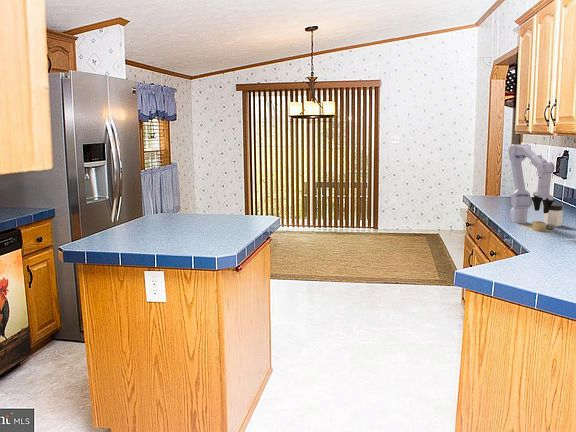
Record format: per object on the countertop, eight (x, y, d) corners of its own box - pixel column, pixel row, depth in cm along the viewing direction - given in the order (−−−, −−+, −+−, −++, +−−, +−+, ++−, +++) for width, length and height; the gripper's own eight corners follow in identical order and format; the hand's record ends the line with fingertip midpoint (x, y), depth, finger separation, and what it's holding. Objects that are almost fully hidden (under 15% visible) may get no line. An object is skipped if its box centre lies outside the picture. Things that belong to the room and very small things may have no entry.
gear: (542, 228, 279) (543, 222, 279) (551, 228, 280) (551, 222, 279) (548, 230, 274) (549, 224, 274) (557, 230, 275) (557, 224, 275)
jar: (542, 227, 289) (544, 205, 287) (543, 224, 296) (545, 203, 294) (561, 228, 285) (563, 206, 283) (561, 226, 292) (564, 204, 290)
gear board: (517, 227, 287) (518, 220, 287) (539, 226, 289) (540, 219, 289) (536, 233, 272) (536, 225, 271) (559, 232, 274) (560, 225, 273)
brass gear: (531, 228, 278) (531, 221, 277) (539, 228, 279) (540, 221, 278) (537, 230, 273) (537, 223, 273) (545, 230, 274) (546, 222, 273)
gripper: (528, 184, 283) (526, 209, 286) (545, 187, 269) (542, 214, 272) (540, 184, 284) (538, 209, 287) (558, 187, 270) (555, 214, 273)
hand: (541, 211), depth 279 cm, fingers open, 7 cm apart
